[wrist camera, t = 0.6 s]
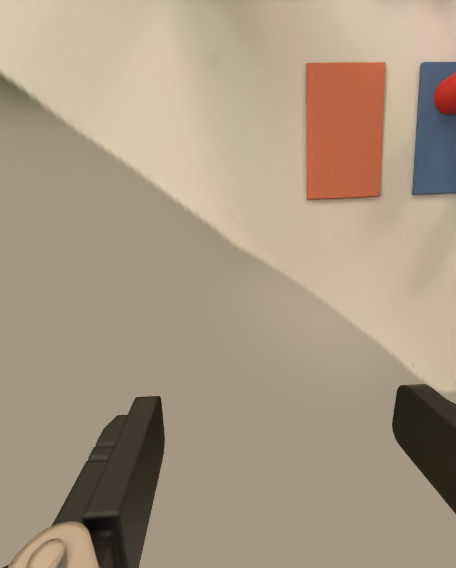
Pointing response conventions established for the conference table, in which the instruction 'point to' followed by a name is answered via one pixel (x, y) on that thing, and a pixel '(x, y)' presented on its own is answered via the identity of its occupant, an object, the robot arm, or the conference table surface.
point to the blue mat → (434, 135)
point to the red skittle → (446, 95)
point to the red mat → (344, 129)
